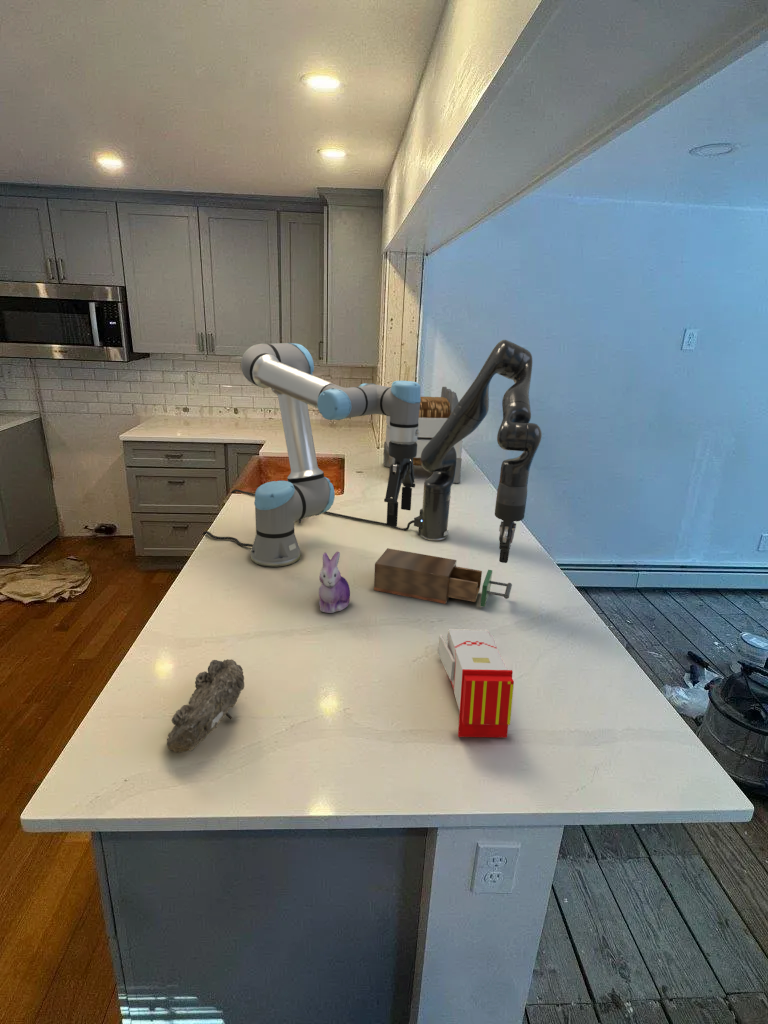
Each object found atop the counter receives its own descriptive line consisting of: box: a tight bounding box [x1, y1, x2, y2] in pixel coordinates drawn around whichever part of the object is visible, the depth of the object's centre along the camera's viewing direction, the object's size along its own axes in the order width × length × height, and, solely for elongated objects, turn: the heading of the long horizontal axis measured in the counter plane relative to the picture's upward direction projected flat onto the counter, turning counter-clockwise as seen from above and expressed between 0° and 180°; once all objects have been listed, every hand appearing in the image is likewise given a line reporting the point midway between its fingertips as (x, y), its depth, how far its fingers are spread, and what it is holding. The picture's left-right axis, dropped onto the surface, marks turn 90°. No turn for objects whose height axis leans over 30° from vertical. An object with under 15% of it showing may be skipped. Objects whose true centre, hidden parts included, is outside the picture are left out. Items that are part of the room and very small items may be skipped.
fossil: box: [166, 658, 245, 754], centre depth 106 cm, size 22×10×15 cm
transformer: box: [383, 386, 464, 484], centre depth 268 cm, size 34×33×41 cm
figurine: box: [318, 551, 351, 614], centre depth 147 cm, size 9×10×15 cm
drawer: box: [447, 565, 513, 608], centre depth 156 cm, size 25×10×6 cm, turn 72°
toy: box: [437, 628, 515, 738], centre depth 117 cm, size 12×13×30 cm
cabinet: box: [373, 548, 457, 605], centre depth 160 cm, size 21×11×8 cm, turn 72°
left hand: (399, 517), depth 156 cm, fingers open, 13 cm apart
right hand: (503, 561), depth 151 cm, fingers closed
